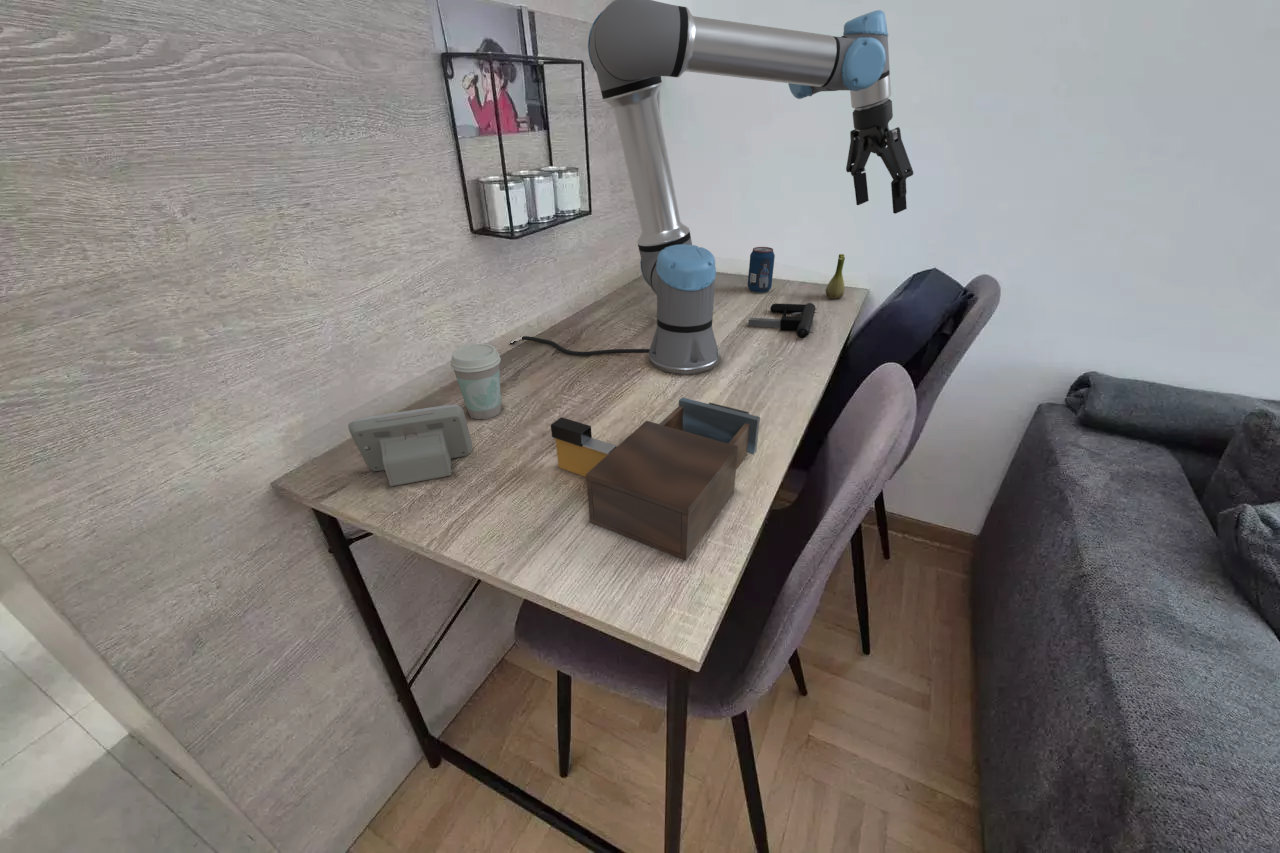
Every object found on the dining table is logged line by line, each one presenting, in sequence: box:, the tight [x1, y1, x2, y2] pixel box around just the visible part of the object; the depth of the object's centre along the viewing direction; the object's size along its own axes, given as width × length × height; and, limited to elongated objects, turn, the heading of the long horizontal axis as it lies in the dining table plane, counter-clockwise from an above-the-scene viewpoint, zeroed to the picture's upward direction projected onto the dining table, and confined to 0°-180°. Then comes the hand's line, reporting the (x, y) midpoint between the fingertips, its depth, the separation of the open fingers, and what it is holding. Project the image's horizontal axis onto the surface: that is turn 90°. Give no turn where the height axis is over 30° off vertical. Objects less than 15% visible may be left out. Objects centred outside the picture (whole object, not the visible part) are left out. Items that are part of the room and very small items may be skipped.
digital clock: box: [347, 403, 473, 487], centre depth 83 cm, size 16×9×11 cm, turn 96°
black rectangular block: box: [550, 416, 618, 454], centre depth 80 cm, size 10×3×2 cm, turn 59°
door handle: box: [748, 302, 818, 340], centre depth 136 cm, size 3×20×16 cm
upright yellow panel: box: [554, 438, 608, 478], centre depth 82 cm, size 10×1×6 cm, turn 60°
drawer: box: [659, 396, 761, 470], centre depth 84 cm, size 19×13×6 cm
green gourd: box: [825, 253, 846, 300], centre depth 151 cm, size 6×5×12 cm
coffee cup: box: [450, 343, 502, 420], centre depth 98 cm, size 8×8×12 cm
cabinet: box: [585, 420, 738, 561], centre depth 74 cm, size 16×15×8 cm
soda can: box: [747, 246, 776, 294], centre depth 158 cm, size 7×7×12 cm
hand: (880, 207), depth 123 cm, fingers open, 13 cm apart
